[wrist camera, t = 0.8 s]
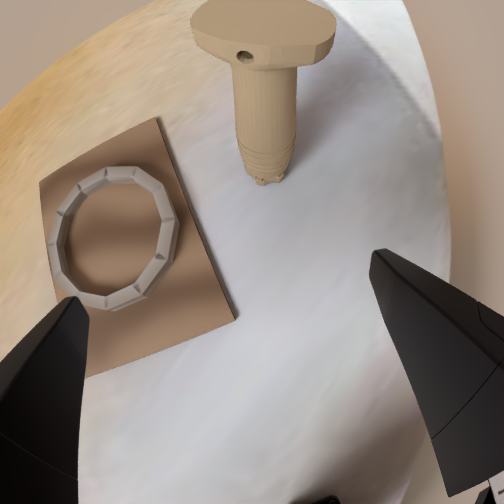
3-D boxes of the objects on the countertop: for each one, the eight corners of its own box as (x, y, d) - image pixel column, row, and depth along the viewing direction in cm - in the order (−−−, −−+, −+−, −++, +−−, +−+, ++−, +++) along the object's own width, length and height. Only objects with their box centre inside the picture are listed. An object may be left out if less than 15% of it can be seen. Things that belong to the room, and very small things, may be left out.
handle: (239, 138, 26) (217, -11, 11) (311, 157, 25) (343, 7, 10) (219, 185, 25) (172, 36, 10) (295, 207, 24) (326, 59, 9)
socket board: (235, 320, 22) (232, 319, 20) (84, 378, 21) (72, 380, 20) (156, 119, 27) (150, 108, 25) (41, 183, 26) (32, 176, 24)
